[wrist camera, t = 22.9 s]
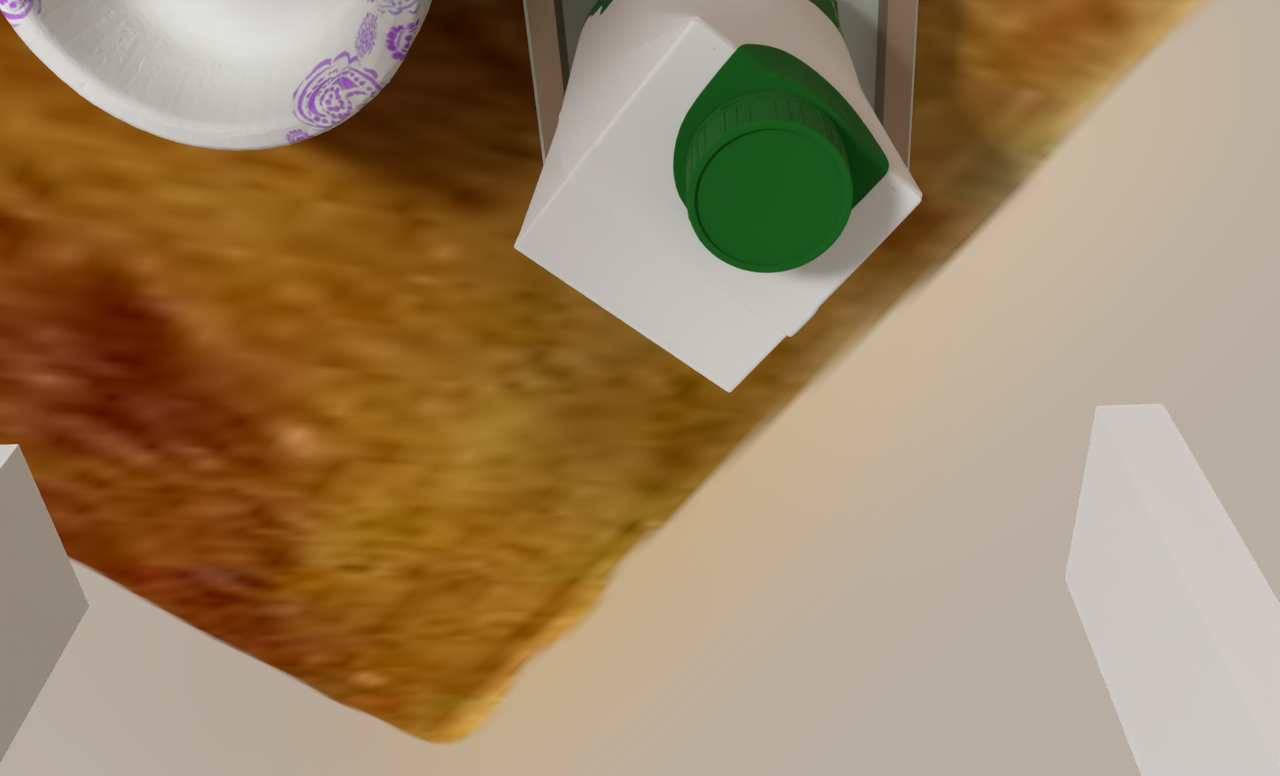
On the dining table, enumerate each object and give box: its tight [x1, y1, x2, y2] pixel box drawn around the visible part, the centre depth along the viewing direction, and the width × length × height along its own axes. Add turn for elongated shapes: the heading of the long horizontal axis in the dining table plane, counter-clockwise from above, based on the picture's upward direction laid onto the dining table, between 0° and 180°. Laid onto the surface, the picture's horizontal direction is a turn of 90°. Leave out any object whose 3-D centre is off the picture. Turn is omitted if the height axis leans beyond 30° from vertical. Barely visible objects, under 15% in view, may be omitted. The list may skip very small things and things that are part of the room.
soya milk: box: [514, 0, 922, 393], centre depth 38 cm, size 9×9×20 cm
